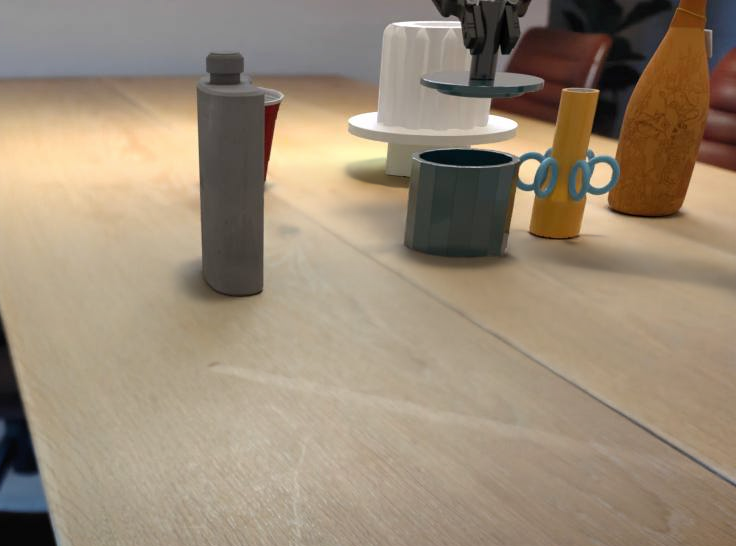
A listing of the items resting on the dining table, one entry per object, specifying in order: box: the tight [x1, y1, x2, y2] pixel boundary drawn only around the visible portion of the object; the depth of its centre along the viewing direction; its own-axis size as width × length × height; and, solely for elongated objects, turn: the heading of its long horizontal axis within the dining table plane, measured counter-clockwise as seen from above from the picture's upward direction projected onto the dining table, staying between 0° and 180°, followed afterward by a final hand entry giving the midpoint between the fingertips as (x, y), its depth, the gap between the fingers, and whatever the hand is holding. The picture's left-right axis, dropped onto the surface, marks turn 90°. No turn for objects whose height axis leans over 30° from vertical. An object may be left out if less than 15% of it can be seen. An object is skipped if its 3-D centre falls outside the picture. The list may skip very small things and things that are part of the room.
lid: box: [420, 0, 546, 99], centre depth 90 cm, size 12×12×8 cm
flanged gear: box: [347, 20, 519, 178], centre depth 134 cm, size 25×25×19 cm
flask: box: [195, 50, 265, 297], centre depth 90 cm, size 15×6×20 cm, turn 7°
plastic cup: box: [257, 86, 285, 186], centre depth 128 cm, size 11×11×12 cm
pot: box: [403, 147, 521, 259], centre depth 102 cm, size 12×12×10 cm
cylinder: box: [516, 87, 620, 239], centre depth 106 cm, size 12×10×15 cm
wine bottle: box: [607, 0, 713, 217], centre depth 111 cm, size 10×10×30 cm
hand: (493, 48), depth 89 cm, fingers closed on lid, 2 cm apart
